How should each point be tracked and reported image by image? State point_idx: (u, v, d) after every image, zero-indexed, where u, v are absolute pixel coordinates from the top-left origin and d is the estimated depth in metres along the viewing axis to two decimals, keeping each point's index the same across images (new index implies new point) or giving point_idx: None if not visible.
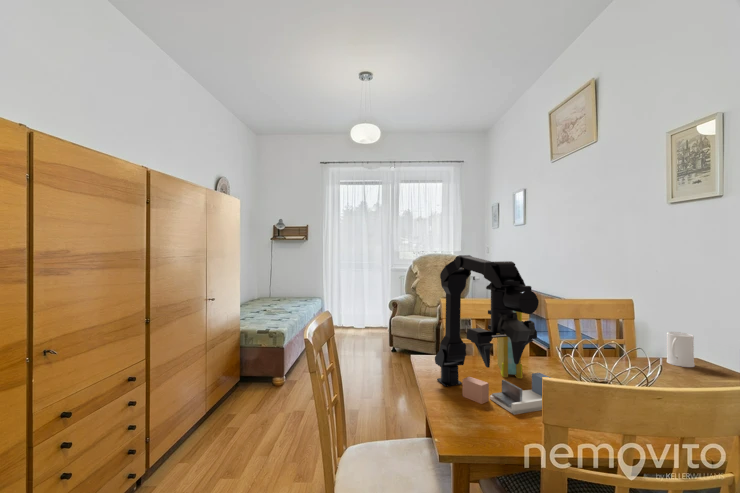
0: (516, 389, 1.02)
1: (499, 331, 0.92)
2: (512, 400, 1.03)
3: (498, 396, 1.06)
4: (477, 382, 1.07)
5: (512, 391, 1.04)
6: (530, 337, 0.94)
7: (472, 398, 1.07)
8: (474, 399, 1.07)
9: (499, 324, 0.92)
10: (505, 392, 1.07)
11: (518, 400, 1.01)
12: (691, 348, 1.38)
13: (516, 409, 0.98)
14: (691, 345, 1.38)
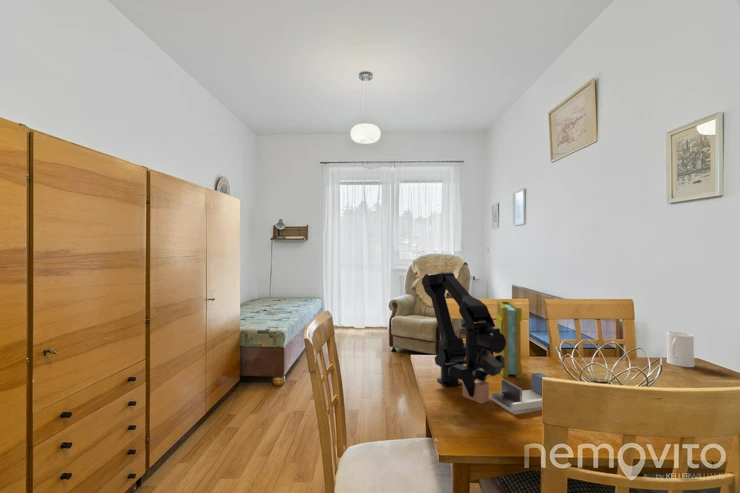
0: (516, 389, 1.02)
1: (476, 366, 1.05)
2: (512, 400, 1.03)
3: (498, 396, 1.06)
4: (477, 382, 1.07)
5: (512, 391, 1.04)
6: None
7: (472, 398, 1.07)
8: (474, 398, 1.07)
9: (476, 360, 1.05)
10: (505, 392, 1.07)
11: (518, 400, 1.01)
12: (691, 348, 1.38)
13: (516, 409, 0.98)
14: (691, 345, 1.38)
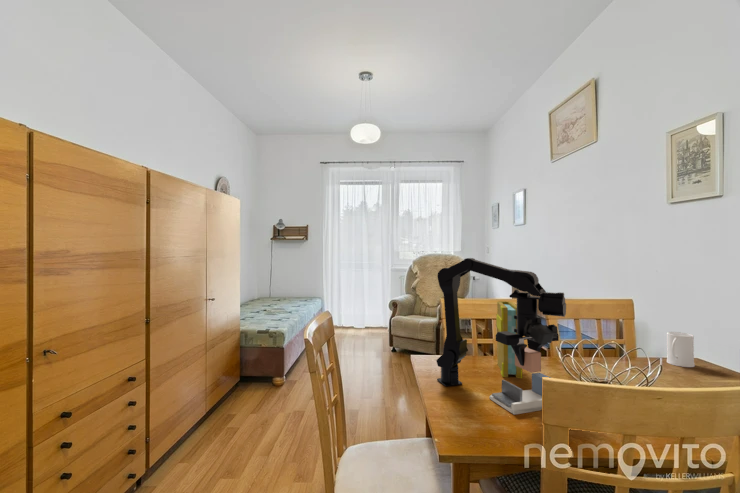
0: (516, 389, 1.02)
1: (525, 334, 1.03)
2: (512, 400, 1.03)
3: (498, 396, 1.06)
4: (528, 351, 1.05)
5: (512, 391, 1.04)
6: (552, 339, 1.06)
7: (523, 367, 1.06)
8: (525, 367, 1.05)
9: (525, 328, 1.03)
10: (505, 392, 1.07)
11: (518, 400, 1.01)
12: (691, 348, 1.38)
13: (516, 409, 0.98)
14: (691, 345, 1.38)
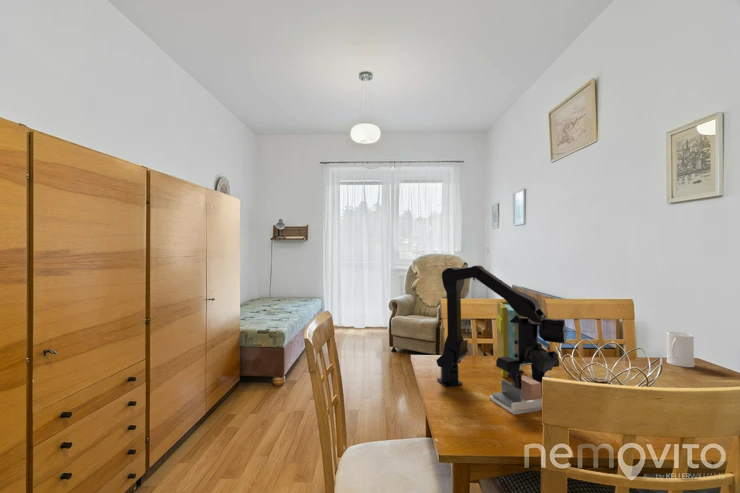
0: (516, 389, 1.02)
1: (526, 360, 1.03)
2: (512, 400, 1.03)
3: (498, 396, 1.06)
4: (529, 381, 1.05)
5: (512, 391, 1.04)
6: (553, 365, 1.06)
7: (523, 397, 1.06)
8: (525, 397, 1.05)
9: (526, 354, 1.03)
10: (505, 392, 1.07)
11: (518, 400, 1.01)
12: (691, 348, 1.38)
13: (516, 409, 0.98)
14: (691, 345, 1.38)
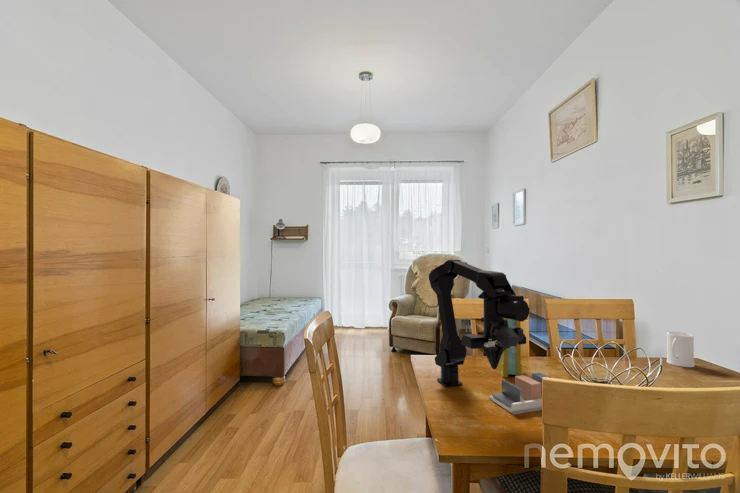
0: (516, 389, 1.02)
1: (491, 337, 1.00)
2: (512, 400, 1.03)
3: (498, 396, 1.06)
4: (529, 381, 1.05)
5: (512, 391, 1.04)
6: (520, 342, 1.02)
7: (523, 397, 1.06)
8: (525, 397, 1.05)
9: (491, 330, 1.00)
10: (505, 392, 1.07)
11: (518, 400, 1.01)
12: (691, 348, 1.38)
13: (516, 409, 0.98)
14: (691, 345, 1.38)
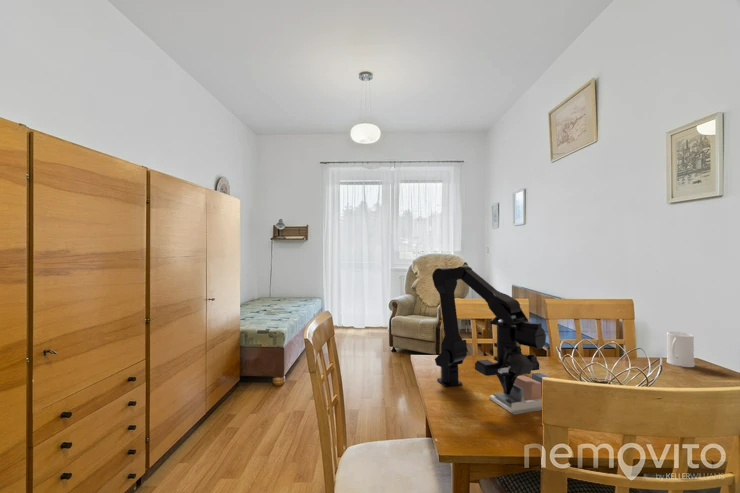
0: (518, 389, 1.02)
1: (504, 363, 1.01)
2: (514, 400, 1.03)
3: (499, 396, 1.06)
4: (529, 381, 1.05)
5: (514, 391, 1.04)
6: (533, 368, 1.03)
7: None
8: (525, 397, 1.05)
9: (504, 357, 1.01)
10: None
11: (520, 400, 1.02)
12: (691, 348, 1.38)
13: (516, 409, 0.98)
14: (691, 345, 1.38)
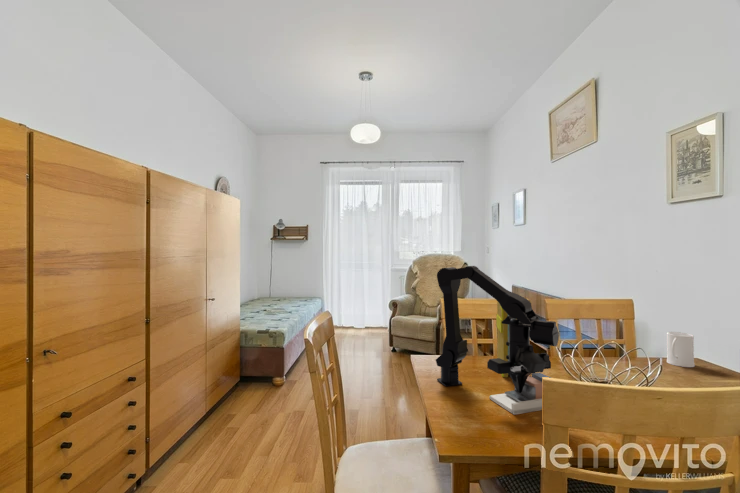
0: (529, 387, 1.04)
1: (517, 362, 1.02)
2: (526, 398, 1.04)
3: (511, 394, 1.07)
4: (532, 381, 1.06)
5: (525, 389, 1.05)
6: (545, 367, 1.05)
7: None
8: None
9: (517, 356, 1.02)
10: None
11: (531, 398, 1.03)
12: (691, 348, 1.38)
13: (516, 409, 0.98)
14: (691, 345, 1.38)
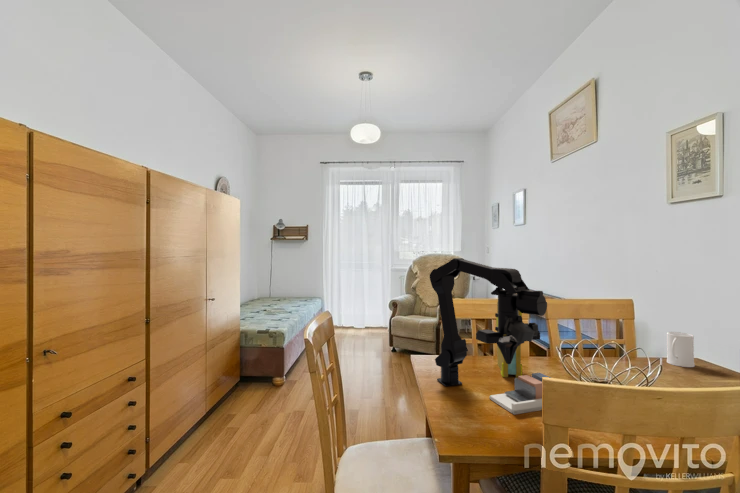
0: (529, 387, 1.04)
1: (506, 332, 1.01)
2: (526, 398, 1.04)
3: (511, 394, 1.07)
4: (532, 381, 1.06)
5: (525, 389, 1.05)
6: (534, 338, 1.04)
7: None
8: None
9: (506, 326, 1.01)
10: (518, 390, 1.08)
11: (531, 398, 1.03)
12: (691, 348, 1.38)
13: (516, 409, 0.98)
14: (691, 345, 1.38)
